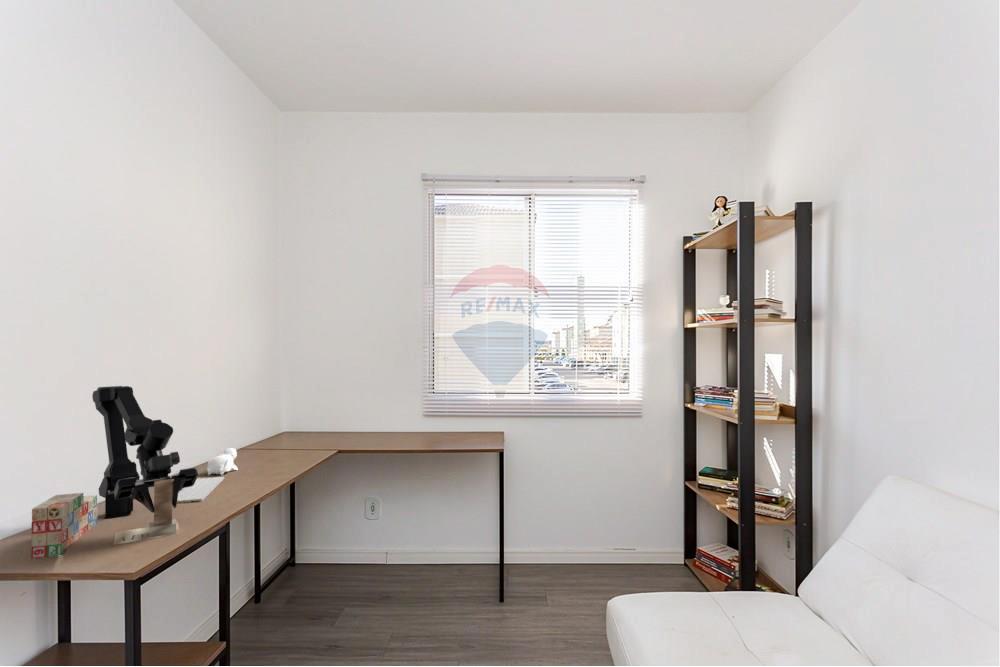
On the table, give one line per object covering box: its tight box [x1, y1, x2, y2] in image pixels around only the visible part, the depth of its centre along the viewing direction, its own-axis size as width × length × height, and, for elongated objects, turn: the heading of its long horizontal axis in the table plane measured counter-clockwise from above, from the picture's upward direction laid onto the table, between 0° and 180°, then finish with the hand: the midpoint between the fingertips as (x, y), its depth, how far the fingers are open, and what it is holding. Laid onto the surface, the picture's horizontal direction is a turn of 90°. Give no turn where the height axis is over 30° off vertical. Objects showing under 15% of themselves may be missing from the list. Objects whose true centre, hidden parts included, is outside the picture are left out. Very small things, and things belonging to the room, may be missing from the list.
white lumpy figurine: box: [206, 447, 239, 476], centre depth 218 cm, size 9×8×15 cm
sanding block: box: [148, 479, 177, 538], centre depth 143 cm, size 6×5×14 cm
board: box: [113, 521, 180, 546], centre depth 143 cm, size 14×11×1 cm
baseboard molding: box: [177, 473, 225, 504], centre depth 189 cm, size 31×3×12 cm
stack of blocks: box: [30, 492, 98, 560], centre depth 140 cm, size 21×6×12 cm, turn 18°
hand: (164, 509), depth 142 cm, fingers closed on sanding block, 5 cm apart
